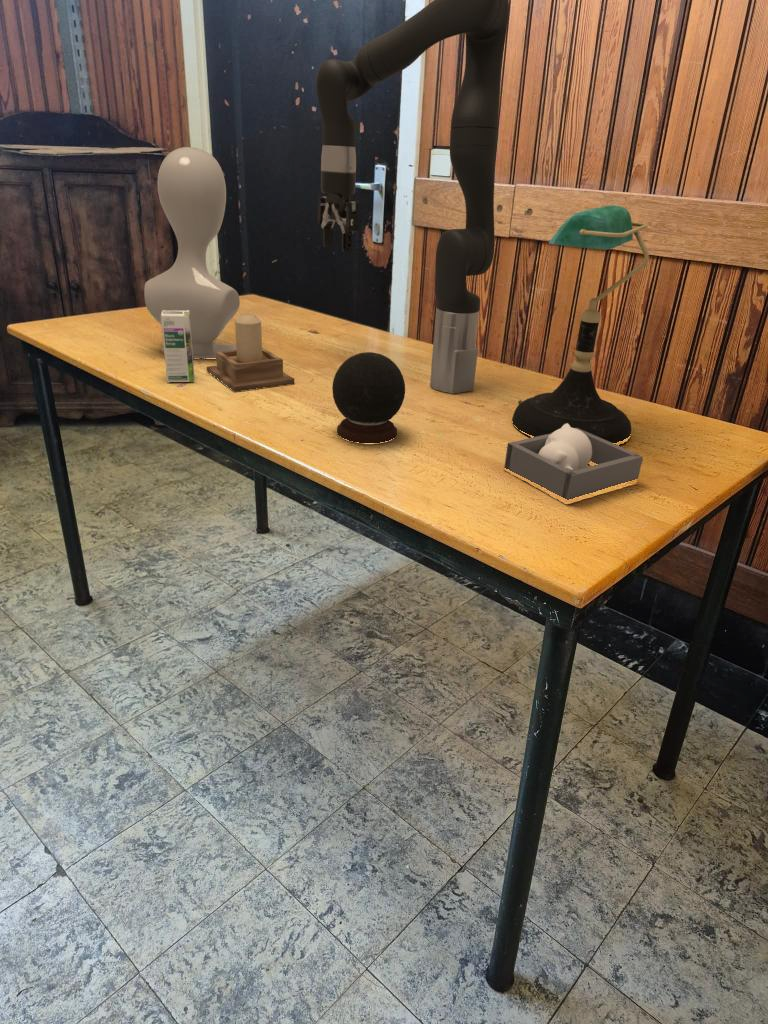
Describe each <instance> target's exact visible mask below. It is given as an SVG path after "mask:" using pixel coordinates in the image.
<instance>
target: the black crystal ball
mask: <svg viewBox="0 0 768 1024" xmlns="http://www.w3.org/2000/svg"><path fill="white" fill-rule="evenodd" d="M331 390H332V397H333V401H334V404H335V405H336V406H335V407H336V408H337V409H338V411H339V412H340V413H341V415H342V416H343V417H344V419H342V420H341V421H340V423H339V424H338V425H337V427H336V434H337V433H338V434H337V436H338V435H339V436H341V437H342V438H344V439H347V440H349V441H353V442H359V443H380V442H385V441H389V440H391V439H393V438H395V437H396V436H398V429H397V427H396V426H395V424H394V423H393V422H392V421H391V420H392V419H393V417H394V416H395V415H396V414H397V413H399V411H400V409H401V408H402V405H403V403H404V400H405V396H406V395H405V394H406V383H405V379H404V375H403V373H402V371H401V370H400V368H399V367H398V365H397V363H395V362H394V361H393V360H392V359H391V358H389V357H388V356H386V355H383V354H381V353H376V352H372V351H371V352H370V351H369V352H367V351H366V352H365V351H364V352H359V353H357V354H355V355H351V356H350V357H348V358H347V359H345V360H344V361H343V363H341V365H340V366H339V367H338V368H337V371H336V373H335V374H334V377H333V380H332V388H331ZM339 436H338V437H339ZM342 438H341V439H342ZM396 438H397V437H396ZM396 438H395V439H396Z"/></svg>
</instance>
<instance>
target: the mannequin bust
mask: <svg viewBox="0 0 768 1024" xmlns="http://www.w3.org/2000/svg"><path fill="white" fill-rule="evenodd" d="M156 182H157V192H158V193H157V194H158V198H159V202H160V206H161V207H162V210H163V213H164V215H165V216H166V218H167V220H168V222H169V224H170V226H171V228H172V230H173V232H174V235H175V238H176V241H177V247H178V249H177V255H176V259H175V262H174V263H173V265H172V266H171V267H170V268H169V269H167V270H165V271H163V272H162V273H159V274H158V275H155V276H153V277H152V278H150V279H148V280H147V281H146V282H145V284H144V289H143V291H144V293H143V294H144V295H143V296H144V302H145V307H146V309H147V311H148V312H149V314H150V315H151V316H152V317H153V318H154V320H155V321H156V322H158V324H160V325H161V313H162V311H163V310H166V311H186V310H189V312H190V325H191V337H192V350H193V358H203V359H202V360H205V359H206V358H216V352H222V351H232V350H237V349H236V344H229V343H214V342H215V341H216V340H217V339H218V338H219V337H220V335H221V333H222V332H223V331H224V330H225V329H226V326H227V325H228V324H229V323H230V321H232V320H233V318H234V317H235V315H236V314H237V313H238V311H239V309H240V303H241V301H240V295H239V293H238V291H237V290H236V289H235V288H233V287H232V286H230V285H229V284H226V283H224V282H223V281H221V280H219V279H217V278H215V277H214V276H212V275H211V274H210V273H209V271H208V267H207V259H206V258H207V250H208V247H209V246H210V243H212V241H213V240H214V239H215V238H216V236H217V235H218V234H219V231H220V230H221V226H222V224H223V220H224V216H225V212H226V203H227V185H226V180H225V175H224V172H223V170H222V167H221V165H220V164H219V162H218V160H217V159H216V158H215V157H214V156H213V155H212V154H211V153H209V152H207V151H206V150H203V149H201V148H197V147H191V146H184V147H183V146H182V147H179V148H175V149H173V150H172V151H171V152H170V153H168V154H167V155H166V157H164V159H163V160H162V163H161V164H160V167H159V170H158V175H157V181H156ZM161 352H162V353H164V345H163V344H162V347H161ZM204 358H205V359H204Z"/></svg>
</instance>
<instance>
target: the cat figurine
mask: <svg viewBox="0 0 768 1024" xmlns="http://www.w3.org/2000/svg"><path fill="white" fill-rule="evenodd" d="M538 455H540V456H542V457H544V458H546V459H548V460H550V461H552V462H554V463H556V464H558V465H560V466H562V467H564V468H566V469H568V470H570V471H575V470H579V469H582V468H586V467H588V466H589V465H588V463H589V462H590V459H591V456H592V445H591V442H590V440H589V438H588V437H587V436H586V435H585V434H584V433H583V432H582V431H580V430H578V429H575V428H571V427H570V425H569V424H568V423H566V424H564V425H563V426H562V427H561V429H558V430H556V431H554V432H553V433H552V434H551V435H549V436H548V439H547V440H546V443H545V446H544V447H542V448H541V450H540V451H539V454H538Z"/></svg>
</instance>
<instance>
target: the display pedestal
mask: <svg viewBox="0 0 768 1024" xmlns="http://www.w3.org/2000/svg"><path fill="white" fill-rule="evenodd" d="M215 361H216V365H209V366H206V372H207V371H208V372H209V373H211V374H212V375H213V376H215V377H216V378H218V379H219V380H220V381H222V382H223V383H224V384H225V385H227V386H228V387H229V388H231V389H232V390H233V391H240V392H242V391H241V390H247V391H250V390H249V389H255V390H257V389H256V388H262V389H264V388H263V387H269V388H272V387H271V386H277V387H280V386H279V385H284V386H288V385H287V384H291V385H295V378H294V377H292V376H290V375H289V374H287V373H286V372H284V359H283V358H282V357H279V356H278V355H276V354H275V353H272V352H271V351H269V350H267V349H265V348H264V347H262V361H253V362H245V363H242V362H239V361H238V360H237V350H232V351H222V352H216V359H215ZM208 372H207V373H208ZM209 373H208V374H209ZM212 375H211V376H212ZM213 376H212V377H213ZM216 378H215V379H216ZM220 381H219V382H220ZM224 384H223V385H224ZM225 385H224V386H225ZM227 386H226V387H227ZM228 387H227V388H228ZM229 388H228V389H229ZM231 389H230V390H231ZM232 390H231V391H232ZM233 391H232V392H233Z"/></svg>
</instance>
